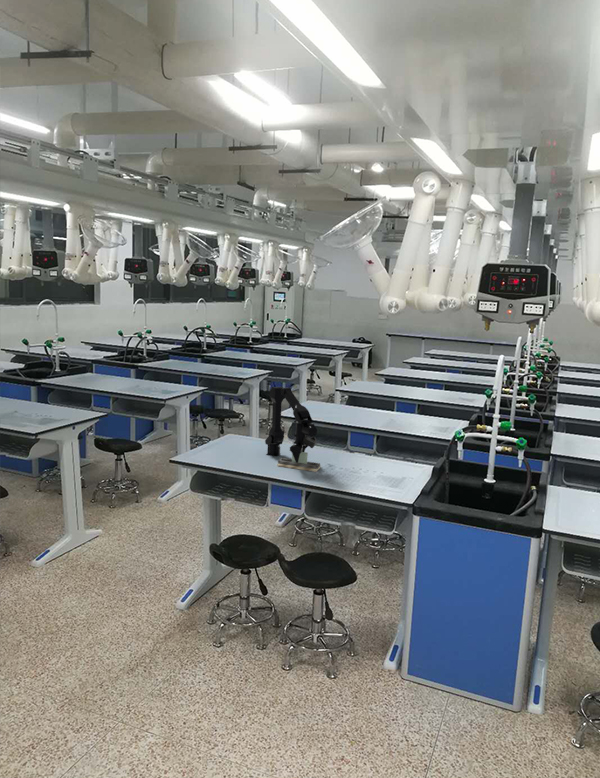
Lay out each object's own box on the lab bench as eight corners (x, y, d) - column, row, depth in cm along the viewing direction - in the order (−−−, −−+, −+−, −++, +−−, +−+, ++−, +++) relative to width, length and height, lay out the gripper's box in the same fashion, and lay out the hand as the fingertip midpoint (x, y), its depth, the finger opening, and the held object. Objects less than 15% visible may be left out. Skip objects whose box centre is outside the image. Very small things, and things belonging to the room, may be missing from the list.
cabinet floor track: (277, 465, 311) (277, 461, 311) (282, 461, 320) (282, 457, 319) (316, 471, 305) (316, 467, 305) (320, 467, 314) (320, 462, 313)
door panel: (291, 464, 312) (292, 451, 311) (292, 463, 314) (293, 450, 313) (305, 466, 310) (306, 453, 309) (306, 465, 312) (307, 452, 311)
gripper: (310, 438, 298) (308, 467, 301) (319, 430, 316) (318, 457, 318) (290, 435, 301) (288, 464, 304) (300, 427, 319) (298, 454, 322)
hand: (299, 460), depth 312 cm, fingers open, 8 cm apart
